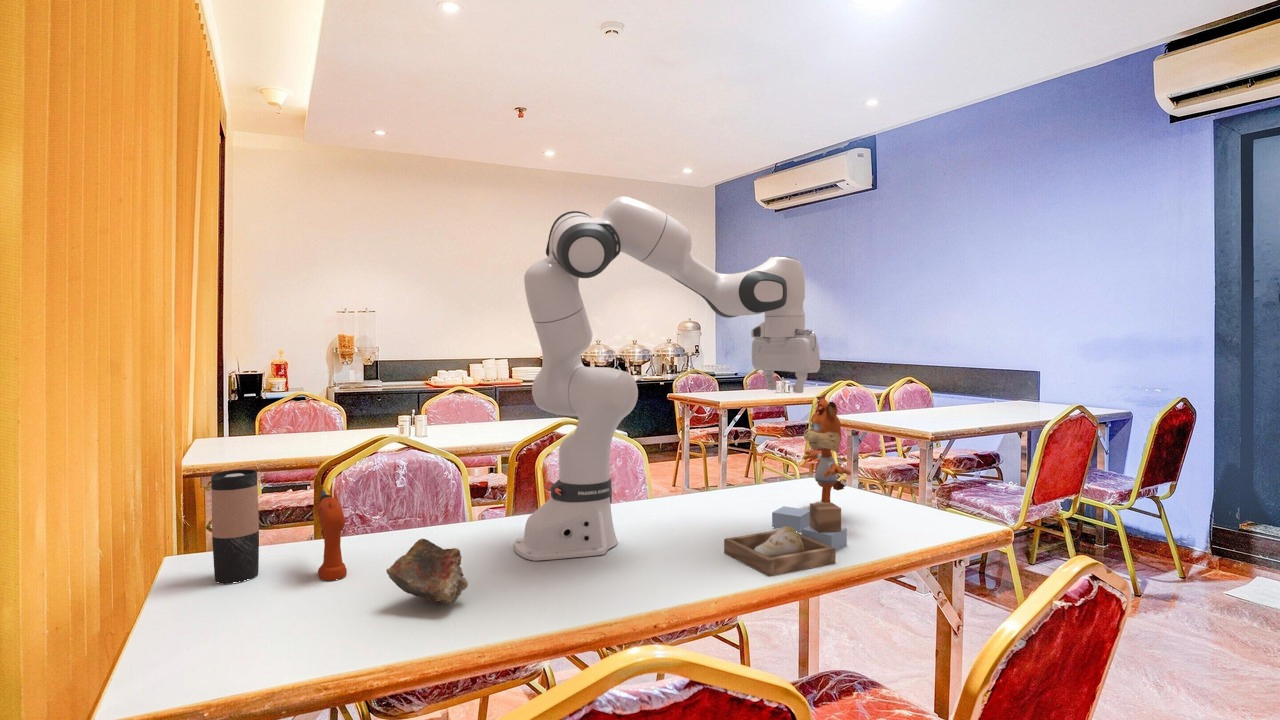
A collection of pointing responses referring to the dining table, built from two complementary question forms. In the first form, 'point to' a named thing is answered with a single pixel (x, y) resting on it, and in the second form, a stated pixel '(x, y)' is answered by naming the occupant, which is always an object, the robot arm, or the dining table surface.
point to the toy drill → (331, 537)
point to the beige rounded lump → (781, 543)
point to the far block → (791, 518)
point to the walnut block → (825, 517)
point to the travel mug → (235, 525)
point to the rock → (429, 572)
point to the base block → (828, 537)
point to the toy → (825, 448)
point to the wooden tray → (810, 558)
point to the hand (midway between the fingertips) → (784, 391)
